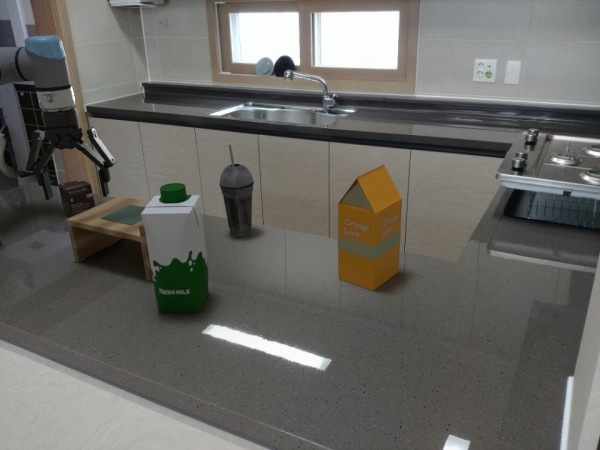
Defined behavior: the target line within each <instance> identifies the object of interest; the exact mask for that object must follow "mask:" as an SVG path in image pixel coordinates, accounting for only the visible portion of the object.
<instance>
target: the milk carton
mask: <svg viewBox="0 0 600 450" xmlns="http://www.w3.org/2000/svg"><path fill="white" fill-rule="evenodd" d="M159 193H160V195H154V196H153V197H152V198H151V200H150V201H148V202H149V203H148V204H147V205H146V206H145V209H144V210H143V212H142V213H141V217H142V220H143V224H144V228H145V233H146V240H147V246H148V252H149V259H150V265H151V271H152V277H153V281H152V283H153V288H154V289H153V290H154V294H155V300H156V305H157V310H158V311H157V312H158V313H159V314H164V313H165V314H169V313H173V314H175V313H176V314H177V313H201V312H202V308H203V307H204V303H205V301H206V297H207V295H208V292H209V267H208V266H209V265H208V257H207V247H206V238H205V237H206V236H205V229H204V220H203V212H202V204H201V195H200V194H187V188H186V184H184V183H180V182H172V183H166V184H164V185H161V186H160V187H159Z"/></svg>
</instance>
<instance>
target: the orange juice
mask: <svg viewBox="0 0 600 450" xmlns="http://www.w3.org/2000/svg"><path fill="white" fill-rule="evenodd" d="M402 209H403V197H402V196H401V194H400V192H399V190H398V189H397V187H396V185H395V183H394V181H393V179H392V177H391V175H390V173H389V171H388V170H387V168H386V166H385V164H382V165H380V166H378V167H376V168H374V169H371V170H369V171H367V172H365V173H362V174H361V175H358V176H356V178H355V179H354V180H353V182H352V183H351V185H350V186H349V188H348V189H347V191H346V192H345V193H344V194H343V196H342V197H341V199H340V200H339V201H338V203H337V231H338V232H337V255H338V256H337V275H338V276H337V278H338V279H339V280H342V281H345V282H347V283H350V284H353V285H356V286H359V287H362V288H364V289H366V290H370V291H373V292H374V291H375V290H376V289H378V288H379V287H380V286H381V285H383V284H385V282H387V281H388V280H390V279H392V277H393V276H395V275H396V274H397V273H399V272H400V271H399V269H400V251H401V250H400V249H401V239H402V238H401V234H402V232H401V231H402Z"/></svg>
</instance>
